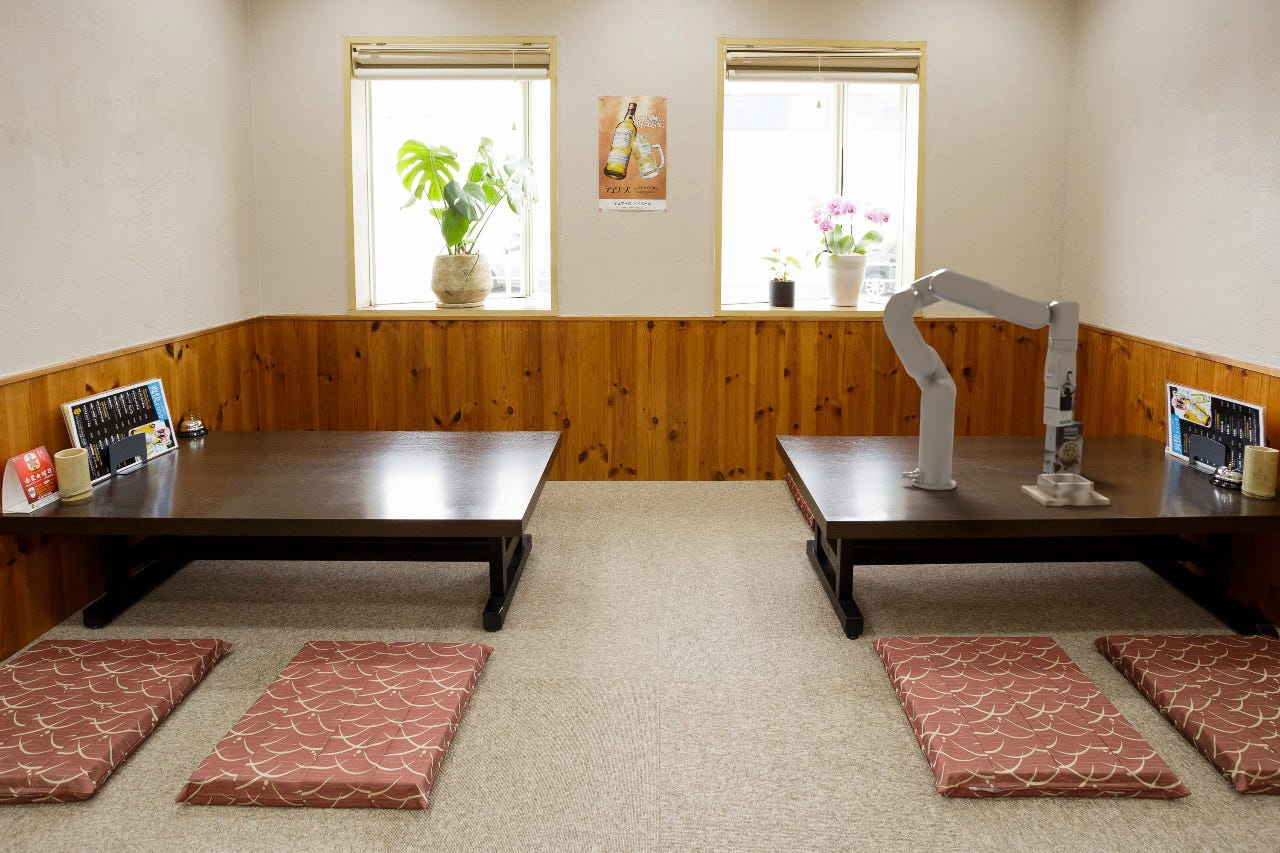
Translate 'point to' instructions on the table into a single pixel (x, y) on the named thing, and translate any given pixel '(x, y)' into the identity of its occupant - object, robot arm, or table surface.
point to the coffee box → (1063, 449)
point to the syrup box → (1056, 406)
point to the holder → (1064, 491)
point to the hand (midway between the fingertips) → (1058, 407)
